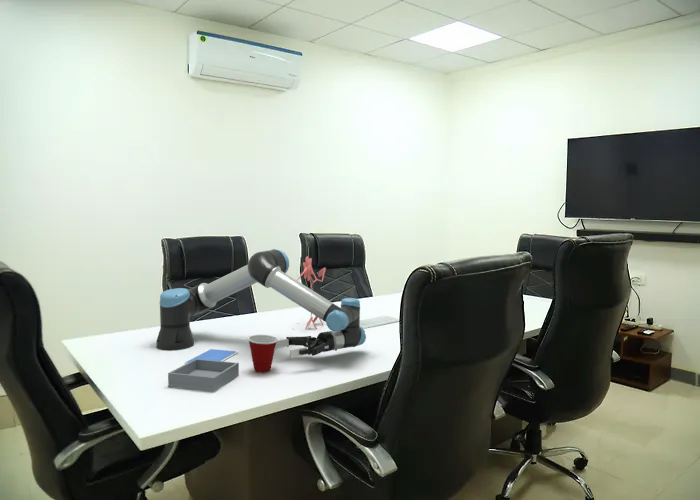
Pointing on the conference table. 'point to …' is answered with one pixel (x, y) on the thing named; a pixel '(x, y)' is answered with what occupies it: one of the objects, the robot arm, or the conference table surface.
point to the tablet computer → (215, 355)
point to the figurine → (308, 272)
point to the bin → (203, 375)
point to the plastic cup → (262, 351)
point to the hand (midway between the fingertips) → (281, 349)
